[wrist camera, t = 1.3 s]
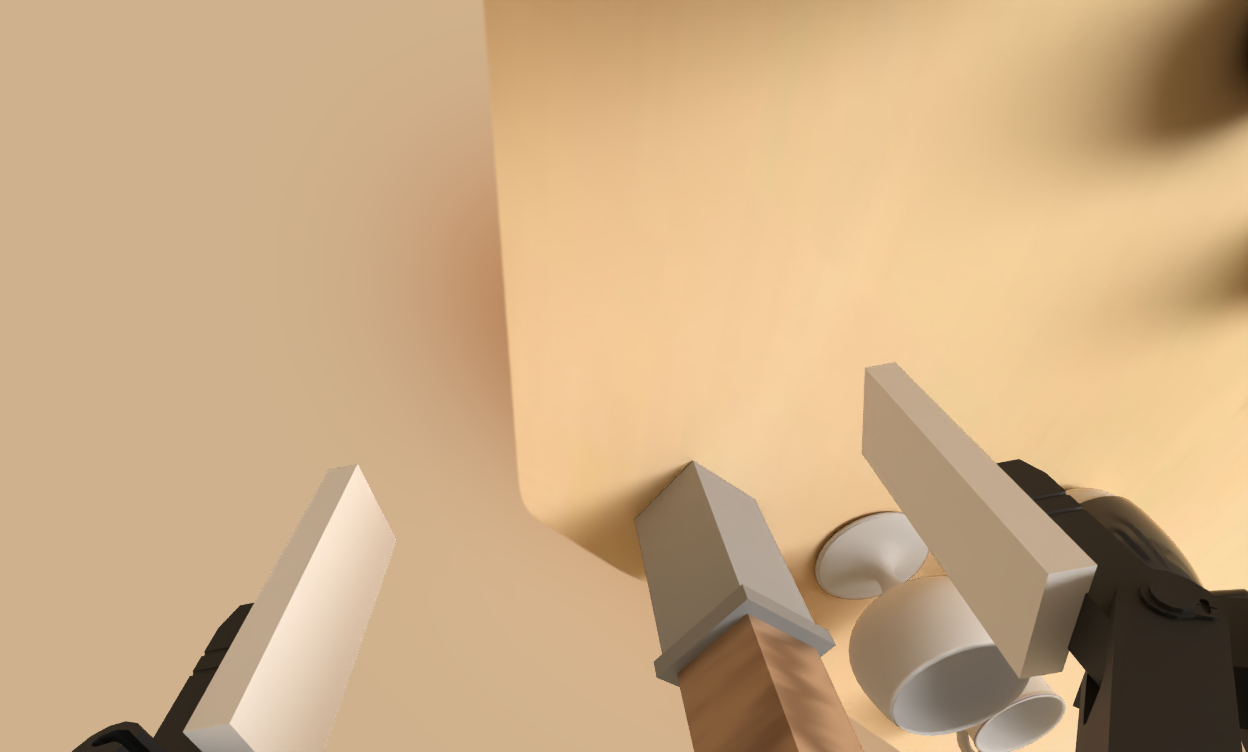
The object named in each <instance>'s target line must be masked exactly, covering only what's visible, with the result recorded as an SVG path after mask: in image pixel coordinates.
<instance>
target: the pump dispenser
mask: <svg viewBox="0 0 1248 752" xmlns="http://www.w3.org/2000/svg"><path fill="white" fill-rule="evenodd" d="M1066 494H1067V495H1070V496H1071V497H1073V498H1074V499H1075V500H1076V501H1077V502H1078V503H1079V504H1080V505H1081V506H1082V509H1083V510H1087V511H1088V512H1089V513H1090V514H1091V515H1092V516H1093V517H1094V518H1095V519H1096V520H1098V521H1099V522H1100V523H1101V524H1102V525H1103V526H1104V527H1105V528H1106V529H1107V530H1108V531H1110V532H1111V533H1112V534H1113V535H1114V536H1115V537H1116V538H1117V539H1118V540H1119V541H1120V542H1121V543H1123V544H1124V545H1125V546H1126V547H1127V548H1128V549H1129V550H1130V551H1131V552H1132V553H1133V554H1135V555H1136V556H1137V557H1138V558H1139V559H1140V560H1141V561H1142V562H1143V563H1144V564H1145V565H1147V566H1148V567H1149V568H1152V569H1157V570H1163V571H1169V572H1172V573H1174V574H1177V575H1180V576H1182V577H1185V578H1188V579H1190V580H1192V581H1193V582H1195V583H1196V584H1198V585H1200V586H1201V587H1203V588H1204V586H1203V585H1202V583H1201V581H1200V579H1199V577H1198V575H1197V574H1196V572H1195V570H1194V569H1193V567H1192V566H1191V564H1190V563H1189V561H1188V560H1187V559H1186V557H1185V556H1184V554H1183V553H1182V552H1181V551H1180V549H1179V548H1178V547H1177V546H1176V544H1175V543H1174V542H1173V541H1172V540H1171V538H1170V537H1169V536H1168V535H1167V534H1166V533H1165V532H1164V531H1163V530H1162V529H1161V528H1160V527H1159V526H1158V525H1157V524H1156V523H1155V522H1154V521H1153V520H1152V519H1151V518H1150V517H1149V516H1148V515H1147V514H1146V513H1145V512H1144V511H1143V510H1142V509H1140V508H1139V507H1138V506H1137V505H1135V504H1134V503H1133V502H1131V501H1130V500H1128V499H1126V498H1123V497H1119V496H1115V495H1113V494H1110V493H1108V492H1105V491H1102V490H1097V489H1091V488H1075V489H1070V490H1066ZM1204 589H1205V588H1204ZM1209 592H1210V593H1211V594H1212V595H1216V596H1222V597H1234V598H1246V599H1248V591H1247V590H1245V589H1234V590H1217V591H1209Z"/></svg>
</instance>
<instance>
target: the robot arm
mask: <svg viewBox="0 0 1248 752" xmlns="http://www.w3.org/2000/svg"><path fill="white" fill-rule="evenodd" d="M862 454H863V456H864V457H865V459H866V460H867V462H868V463H869V464H870V466H871V467H872V469H873V470H874V472H875V473H876V474H877V476H878V477H879V479H880V480H881V482H882V483H883V484H884V486H885V487H886V489H887V490H888V492H889V493H890V495H891V496H892V497H893V499H894V500H895V502H896V503H897V505H898V506H899V507H900V509H901V510H902V512H903V513H904V515H905V516H906V517H907V519H908V520H909V522H910V523H911V525H912V526H913V527H914V529H915V530H916V532H917V533H918V535H919V536H920V537H921V539H922V540H923V542H924V543H925V545H926V546H927V547H928V549H929V550H930V552H931V553H932V555H933V556H934V557H935V559H936V560H937V562H938V563H939V565H940V566H941V567H942V569H943V570H944V572H945V573H946V575H947V576H948V577H949V579H950V580H951V582H952V583H953V585H954V586H955V587H956V589H957V590H958V592H959V593H960V595H961V596H962V597H963V599H964V600H965V602H966V603H967V605H968V606H969V607H970V609H971V610H972V612H973V613H974V615H975V616H976V618H977V619H978V620H979V622H980V623H981V625H982V626H983V628H984V629H985V630H986V632H987V633H988V635H989V636H990V638H991V639H992V640H993V642H994V643H995V645H996V646H997V648H998V649H999V650H1000V652H1001V653H1002V655H1003V656H1004V658H1005V659H1006V660H1007V662H1008V663H1009V665H1010V666H1011V668H1012V669H1013V670H1014V672H1015V673H1016V675H1017V676H1018V678H1019V679H1023V678H1029V677H1034V676H1040V675H1045V674H1051V673H1057V672H1062V671H1063V668H1064V665H1065V662H1066V659H1067V656H1068V653H1069V651H1070V652H1071V653H1072V654H1073V656H1074V657H1075V658H1076V659H1077V660H1078V662H1079V663H1080V664H1081V665H1082V667H1083V668H1084V669H1085V670H1086V671H1085V674H1084V676H1083V679H1082V682H1081V685H1080V687H1079V690H1078V693H1077V696H1076V698H1075V701H1074V704H1073V706H1074V707H1077V708H1079V719H1078V730H1077V741H1076V752H1242V744H1243V746H1244V748H1245V750H1246V752H1248V599H1246V598H1234V597H1222V596H1216V595H1212V594H1211V593H1210V592H1209V591H1208V590H1206V589H1204V588H1203V587H1201V586H1200V585H1198V584H1196V583H1195V582H1193V581H1192V580H1190V579H1188V578H1185V577H1182V576H1180V575H1177V574H1174V573H1172V572H1169V571H1163V570H1157V569H1152V568H1149V567H1148V566H1147V565H1145V564H1144V563H1143V562H1142V561H1141V560H1140V559H1139V558H1138V557H1137V556H1136V555H1135V554H1133V553H1132V552H1131V551H1130V550H1129V549H1128V548H1127V547H1126V546H1125V545H1124V544H1123V543H1121V542H1120V541H1119V540H1118V539H1117V538H1116V537H1115V536H1114V535H1113V534H1112V533H1111V532H1110V531H1108V530H1107V529H1106V528H1105V527H1104V526H1103V525H1102V524H1101V523H1100V522H1099V521H1098V520H1096V519H1095V518H1094V517H1093V516H1092V515H1091V514H1090V513H1089V512H1088V511H1087V510H1083V509H1082V506H1081V505H1080V504H1079V503H1078V502H1077V501H1076V500H1075V499H1074V498H1073V497H1071V496H1070V495H1067V494H1066V491H1065V490H1064V489H1063V488H1062V487H1061V486H1059V485H1058V484H1057V483H1056V482H1055V481H1054V480H1053V479H1052V478H1051V477H1050V476H1049V475H1047V474H1046V473H1045V472H1043V471H1041V470H1039V469H1037V468H1035V467H1033V466H1031V465H1029V464H1027V463H1025V462H1024V461H1022V460H1020V459H1017V460H1012V461H1006V462H1001V463H995V462H994V461H993V460H992V459H991V458H990V457H989V456H988V455H987V454H986V453H985V452H984V451H983V450H982V449H981V448H980V447H979V446H978V445H977V444H976V443H975V442H974V441H973V440H972V439H971V438H970V437H969V436H968V435H967V434H966V433H965V432H964V431H963V430H962V429H961V428H960V427H959V426H958V425H957V424H956V423H955V422H954V421H953V420H952V419H951V418H950V417H949V416H948V415H947V414H946V413H945V412H944V411H943V410H942V409H941V408H940V407H939V406H938V405H937V404H936V403H935V402H934V401H933V400H932V399H931V398H930V397H929V396H928V395H927V394H926V393H925V392H924V391H923V390H922V389H921V388H920V387H919V386H918V385H917V384H916V383H915V382H914V381H913V380H912V378H911V377H910V376H909V375H908V374H907V373H906V372H905V371H904V370H903V369H902V368H901V367H900V366H899V365H898V364H897V363H896V362H893V363H888V364H883V365H877V366H872V367H867V368H865V384H864V410H863V436H862ZM395 544H396V538H395V536H394V535H393V533H392V531H391V529H390V527H389V525H388V523H387V521H386V519H385V517H384V515H383V513H382V511H381V509H380V507H379V505H378V503H377V502H376V499H375V497H374V495H373V493H372V492H371V489H370V488H369V485H368V483H367V482H366V480H365V478H364V476H363V474H362V472H361V470H360V468H359V466H358V464H355V465H349V466H344V467H339V468H334V469H329V470H328V471H327V473H326V475H325V477H324V478H323V480H322V482H321V484H320V486H319V487H318V489H317V491H316V493H315V495H314V496H313V498H312V500H311V502H310V504H309V505H308V507H307V509H306V511H305V513H304V515H303V517H302V518H301V520H300V522H299V523H298V525H297V527H296V529H295V531H294V533H293V534H292V536H291V538H290V540H289V542H288V543H287V545H286V547H285V549H284V550H283V552H282V554H281V556H280V558H279V560H278V561H277V563H276V565H275V567H274V569H273V570H272V572H271V574H270V576H269V578H268V579H267V581H266V583H265V585H264V587H263V588H262V590H261V592H260V594H259V596H258V597H257V599H256V601H255V603H251V604H245V605H240V606H239V607H238V608H237V609H236V610H235V611H234V612H233V614H231V616H229V618H228V619H227V620H226V621H225V622H224V623H223V624H222V625H221V626H220V627H219V628H218V630H217V631H216V633H215V635H214V636H213V638H212V640H211V641H210V643H209V645H208V647H207V648H206V650H205V655H204V656H202V657H201V658H200V660H199V662H198V663H197V665H196V667H195V668H194V670H193V676H190V677H189V679H188V680H187V682H186V684H185V686H184V687H183V689H182V690H181V692H180V694H179V696H178V697H177V699H176V701H175V702H174V704H173V706H172V708H171V709H170V711H169V713H168V714H167V716H166V718H165V719H164V721H163V723H162V725H161V726H160V728H159V729H158V731H157V733H156V734H155V736H154V738H153V737H151V736H150V735H149V734H148V733H147V732H146V731H145V730H144V729H143V728H142V727H141V726H140V725H139V724H138V723H132V722H122V723H119V724H115V725H112V726H109V727H107V728H105V729H103V730H102V731H100V732H98V733H96V734H94V735H92V736H91V737H89V738H88V739H87V740H86V741H85V742H83V743H82V744H81V745H79V746H78V747H77V748H76V749H74V750H73V751H72V752H324V751H325V748H326V745H327V742H328V740H329V737H330V734H331V731H332V728H333V725H334V722H335V719H336V716H337V713H338V710H339V707H340V705H341V702H342V699H343V695H344V693H345V690H346V687H347V684H348V681H349V678H350V675H351V672H352V669H353V666H354V663H355V661H356V658H357V655H358V652H359V649H360V646H361V643H362V640H363V637H364V634H365V631H366V628H367V625H368V622H369V620H370V617H371V614H372V611H373V607H374V605H375V602H376V599H377V596H378V593H379V590H380V587H381V584H382V582H383V579H384V576H385V573H386V570H387V567H388V564H389V561H390V558H391V555H392V552H393V549H394V546H395ZM1241 741H1242V744H1241Z"/></svg>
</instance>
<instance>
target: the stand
mask: <svg viewBox="0 0 1248 752" xmlns="http://www.w3.org/2000/svg"><path fill="white" fill-rule="evenodd" d="M635 524H636V529H637V534H638V538H639V543H640V548H641V553H642V558H643V563H644V567H645V572H646V577H647V582H648V587H649V592H650V596H651V601H652V606H653V611H654V616H655V620H656V625H657V630H658V635H659V640H660V644H661V649H662V655H661V656H660V657H659V658H658V659H656V660H655V661H654V666H655V671H656V676H657V678H659V679H662V680H664V681H666V682H669V683H671V684H674V685H676V686H679V687H680V685H679V681H678V676H677V673H679V672H680V671H681V670H682V669H683V668H684V667H686V666H687V665H688V664H689V663H690V662H691V661H693V660H694V659H695V658H696V657H697V656H698V655H700V654H701V653H702V652H703V651H704V650H706V649H707V648H708V647H709V646H710V645H711V644H713V643H714V642H715V641H716V640H717V639H718V638H720V637H721V636H722V635H723V634H724V633H725V632H727V631H728V630H729V629H730V628H731V627H733V626H734V625H735V624H736V623H737V622H738V621H740V620H741V619H742V618H743V617H744V616H745V615H747V614H750V615H751V616H753V617H755V618H757V619H759V620H761V621H763V622H765V623H767V624H769V625H771V626H773V627H775V628H777V629H779V630H781V631H783V632H785V633H787V634H789V635H791V636H793V637H794V638H796V639H798V640H800V641H802V642H804V643H806V644H808V645H810V646H812V647H814V648H816V649H817V651H818V654H819V656H820V657H821V656H822V655H824V654H825V653H826V652H828V651H829V650H830V649H831V648H833V647H834V646H835V643H834V641H833V639H832V637H831V635H830V633H829V631H828V630H827V629H825V628H823V627H821V626H819V625H817V624H816V623H814V621H813V619H812V617H811V615H810V613H809V610H808V608H807V606H806V604H805V602H804V600H803V598H802V596H801V594H800V592H799V590H798V588H797V585H796V583H795V581H794V579H793V577H792V575H791V573H790V571H789V569H788V567H787V565H786V563H785V560H784V558H783V556H782V554H781V552H780V550H779V548H778V546H777V544H776V542H775V540H774V538H773V535H772V533H771V531H770V529H769V527H768V525H767V523H766V521H765V519H764V517H763V515H762V513H761V510H760V508H759V506H758V504H757V502H756V500H755V499H753V498H752V497H750V496H749V495H747V494H745V493H744V492H742V491H741V490H739V489H737V488H736V487H734V486H733V485H731V484H729V483H728V482H726V481H725V480H723V479H722V478H720V477H718V476H717V475H715V474H714V473H712V472H710V471H709V470H707V469H706V468H704V467H702V466H701V465H699V464H698V463H696V462H694V461H692V462H691V463H690V464H689V465H688V466H687V467H686V468H685V469H684V470H683V471H682V472H681V473H680V474H679V475H678V476H677V477H676V478H675V479H674V480H673V481H672V482H671V483H670V484H669V485H668V486H667V487H666V488H665V489H664V490H663V491H662V492H661V493H660V494H659V495H658V496H657V497H656V498H655V499H654V500H653V501H652V502H651V503H650V504H649V505H648V506H647V507H646V508H645V509H644V510H643V511H642V512H641V513H640V514H639V515H638V516H637V517H636V518H635Z"/></svg>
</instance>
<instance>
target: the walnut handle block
mask: <svg viewBox="0 0 1248 752" xmlns="http://www.w3.org/2000/svg"><path fill="white" fill-rule="evenodd" d="M677 676H678V681H679V685H680V690H681V694H682V699H683V703H684V707H685V712H686V717H687V721H688V725H689V730H690V735H691V739H692V743H693V748H694V752H864V751H863V749H862V746H861V745H860V742H859V740H858V738H857V736H856V734H855V731H854V729H853V727H852V725H851V723H850V721H849V718H848V716H847V714H846V712H845V710H844V708H843V705H842V703H841V701H840V699H839V697H838V695H837V692H836V690H835V688H834V686H833V684H832V682H831V679H830V677H829V675H828V673H827V671H826V669H825V667H824V664H823V662H822V660H821V658H820V656H819V654H818V651H817V649H816V648H814V647H812V646H810V645H808V644H806V643H804V642H802V641H800V640H798V639H796V638H794V637H793V636H791V635H789V634H787V633H785V632H783V631H781V630H779V629H777V628H775V627H773V626H771V625H769V624H767V623H765V622H763V621H761V620H759V619H757V618H755V617H753V616H751V615H750V614H747V615H745V616H744V617H743V618H742V619H741V620H740V621H738V622H737V623H736V624H735V625H734V626H733V627H731V628H730V629H729V630H728V631H727V632H725V633H724V634H723V635H722V636H721V637H720V638H718V639H717V640H716V641H715V642H714V643H713V644H711V645H710V646H709V647H708V648H707V649H706V650H704V651H703V652H702V653H701V654H700V655H698V656H697V657H696V658H695V659H694V660H693V661H691V662H690V663H689V664H688V665H687V666H686V667H684V668H683V669H682V670H681V671H680V672H679V673H677Z"/></svg>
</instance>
